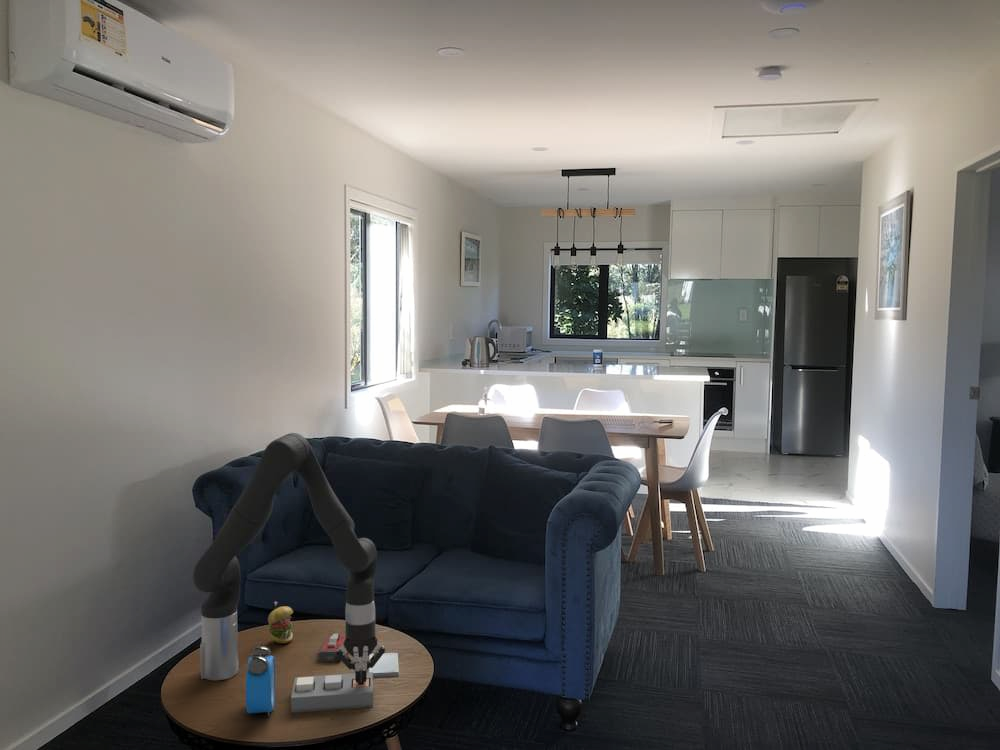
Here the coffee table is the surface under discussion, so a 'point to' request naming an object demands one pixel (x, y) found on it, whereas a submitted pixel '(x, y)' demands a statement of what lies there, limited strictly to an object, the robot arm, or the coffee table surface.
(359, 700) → the keypad
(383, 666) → the hard drive
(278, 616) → the hamburger
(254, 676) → the alarm clock
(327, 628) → the coffee table surface
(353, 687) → the key far terracotta
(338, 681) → the key mid grey
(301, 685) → the key near ivory
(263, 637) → the coffee table surface
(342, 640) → the walkie-talkie
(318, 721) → the coffee table surface
